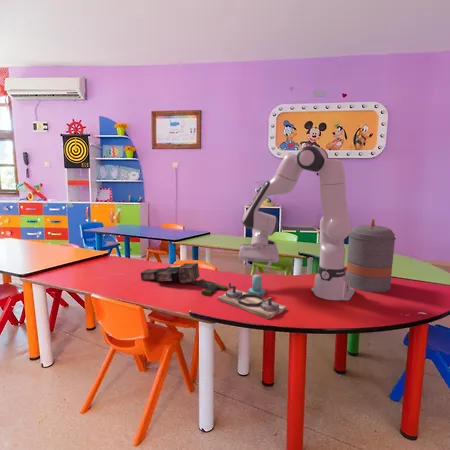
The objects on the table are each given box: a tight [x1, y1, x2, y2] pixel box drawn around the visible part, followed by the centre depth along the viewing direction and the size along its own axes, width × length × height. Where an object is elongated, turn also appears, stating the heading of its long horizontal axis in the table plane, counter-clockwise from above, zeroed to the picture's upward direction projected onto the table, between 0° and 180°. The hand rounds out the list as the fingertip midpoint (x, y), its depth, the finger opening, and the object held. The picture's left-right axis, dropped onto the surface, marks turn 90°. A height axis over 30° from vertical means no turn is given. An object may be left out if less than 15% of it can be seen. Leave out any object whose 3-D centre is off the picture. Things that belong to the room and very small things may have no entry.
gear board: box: [217, 282, 287, 320], centre depth 141 cm, size 13×28×8 cm, turn 46°
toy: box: [140, 262, 201, 284], centre depth 173 cm, size 16×9×30 cm
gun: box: [192, 278, 229, 297], centre depth 162 cm, size 2×19×15 cm
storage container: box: [345, 218, 397, 293], centre depth 168 cm, size 22×22×35 cm
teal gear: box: [247, 274, 266, 296], centre depth 155 cm, size 8×8×8 cm
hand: (257, 268), depth 161 cm, fingers open, 8 cm apart
